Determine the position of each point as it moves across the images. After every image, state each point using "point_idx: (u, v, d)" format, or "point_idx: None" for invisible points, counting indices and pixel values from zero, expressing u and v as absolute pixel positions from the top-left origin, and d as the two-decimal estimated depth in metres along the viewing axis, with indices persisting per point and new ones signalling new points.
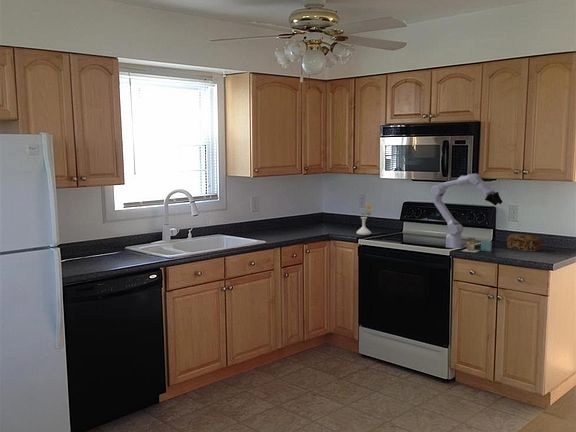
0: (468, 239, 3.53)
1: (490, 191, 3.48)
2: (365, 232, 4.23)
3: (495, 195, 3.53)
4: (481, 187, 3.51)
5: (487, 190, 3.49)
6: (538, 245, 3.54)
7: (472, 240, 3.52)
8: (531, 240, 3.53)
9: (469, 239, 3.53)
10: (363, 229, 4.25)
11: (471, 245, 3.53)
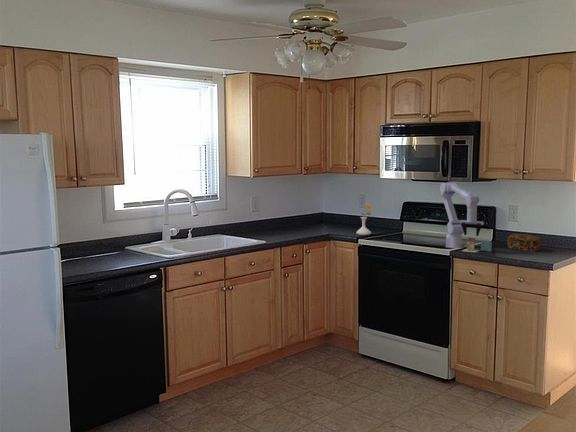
0: (468, 239, 3.53)
1: (466, 221, 3.52)
2: (365, 232, 4.23)
3: None
4: (468, 212, 3.51)
5: (467, 218, 3.52)
6: (538, 245, 3.54)
7: (472, 240, 3.52)
8: (531, 240, 3.53)
9: (469, 239, 3.53)
10: (363, 229, 4.25)
11: (471, 245, 3.53)
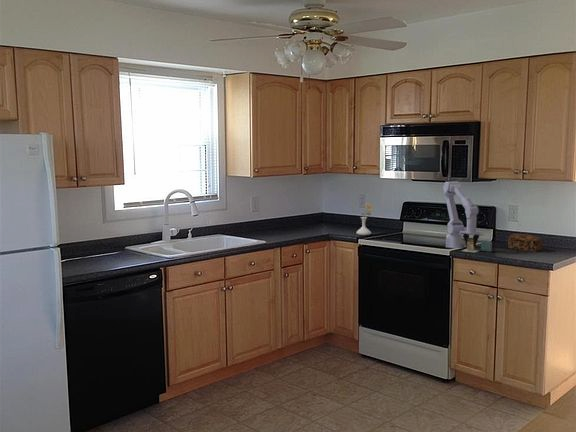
0: (468, 239, 3.53)
1: (466, 232, 3.53)
2: (365, 232, 4.23)
3: None
4: (467, 224, 3.52)
5: None
6: (538, 245, 3.54)
7: (472, 240, 3.52)
8: (532, 240, 3.53)
9: (469, 239, 3.53)
10: (363, 229, 4.25)
11: (471, 245, 3.53)
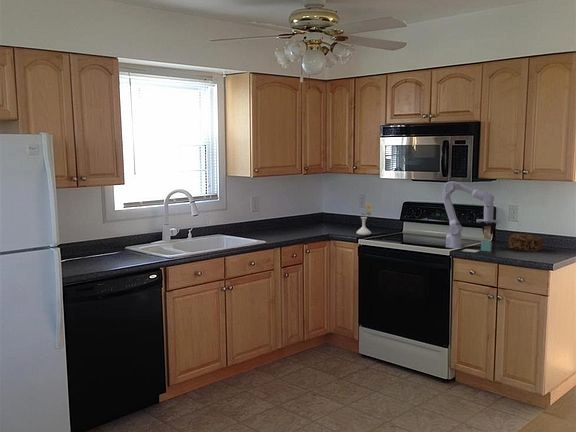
0: (485, 227, 3.57)
1: (483, 220, 3.56)
2: (365, 232, 4.23)
3: None
4: (487, 212, 3.54)
5: None
6: (539, 245, 3.54)
7: (489, 228, 3.55)
8: (532, 240, 3.53)
9: (486, 227, 3.56)
10: (363, 229, 4.25)
11: (488, 233, 3.56)
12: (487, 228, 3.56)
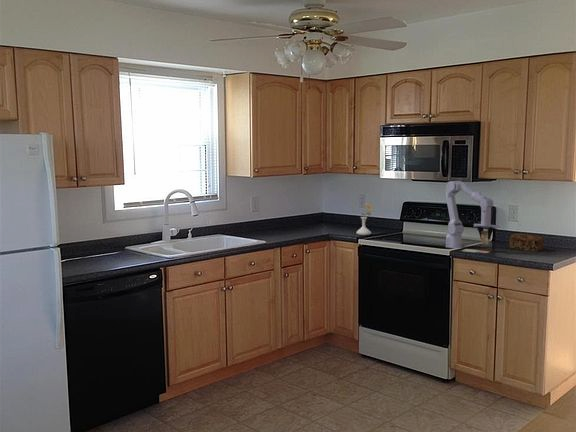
0: (482, 232, 3.50)
1: (480, 225, 3.50)
2: (365, 232, 4.23)
3: None
4: (483, 216, 3.48)
5: (481, 222, 3.50)
6: (540, 245, 3.55)
7: (486, 233, 3.49)
8: (533, 240, 3.53)
9: (483, 232, 3.50)
10: (363, 229, 4.25)
11: (485, 238, 3.49)
12: (484, 233, 3.49)
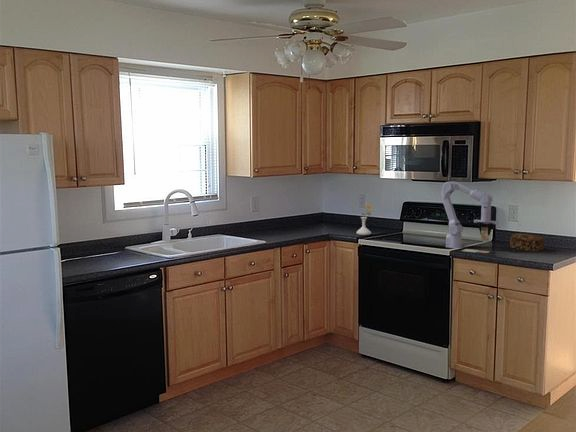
0: (482, 228, 3.55)
1: (480, 221, 3.55)
2: (365, 232, 4.23)
3: None
4: (484, 212, 3.52)
5: (481, 218, 3.55)
6: (540, 245, 3.55)
7: (486, 229, 3.54)
8: (534, 240, 3.54)
9: (483, 228, 3.55)
10: (363, 229, 4.25)
11: (485, 234, 3.55)
12: (484, 229, 3.55)
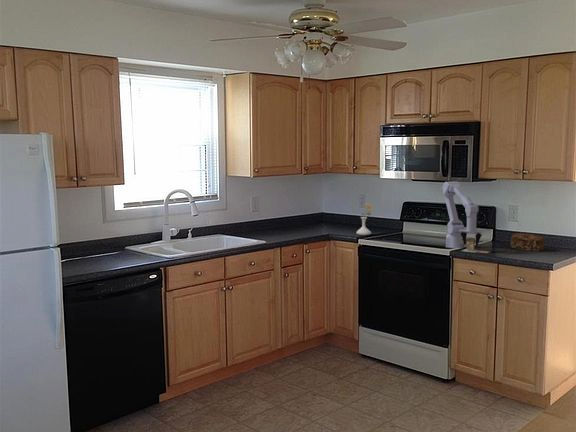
0: (468, 239, 3.53)
1: (466, 231, 3.53)
2: (365, 232, 4.23)
3: None
4: (467, 222, 3.51)
5: None
6: (541, 245, 3.55)
7: (472, 240, 3.52)
8: (534, 240, 3.54)
9: (469, 239, 3.53)
10: (363, 229, 4.25)
11: (471, 245, 3.52)
12: (470, 240, 3.52)
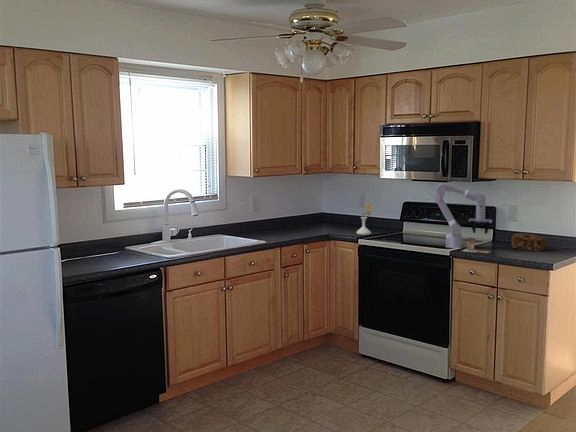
0: (468, 239, 3.53)
1: (475, 220, 3.62)
2: (365, 232, 4.23)
3: None
4: (480, 211, 3.59)
5: (476, 217, 3.62)
6: (542, 245, 3.56)
7: (472, 240, 3.52)
8: (535, 240, 3.54)
9: (469, 239, 3.53)
10: (363, 229, 4.25)
11: (471, 245, 3.52)
12: (470, 240, 3.52)
